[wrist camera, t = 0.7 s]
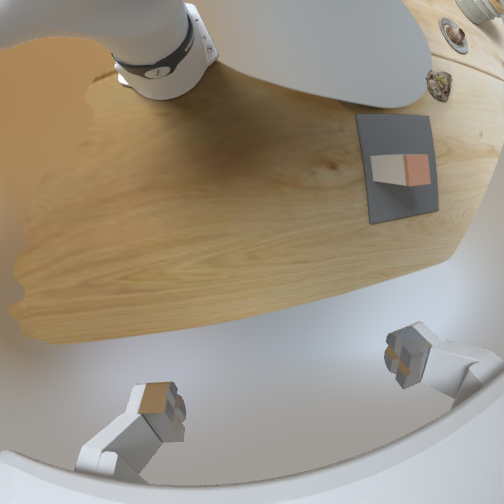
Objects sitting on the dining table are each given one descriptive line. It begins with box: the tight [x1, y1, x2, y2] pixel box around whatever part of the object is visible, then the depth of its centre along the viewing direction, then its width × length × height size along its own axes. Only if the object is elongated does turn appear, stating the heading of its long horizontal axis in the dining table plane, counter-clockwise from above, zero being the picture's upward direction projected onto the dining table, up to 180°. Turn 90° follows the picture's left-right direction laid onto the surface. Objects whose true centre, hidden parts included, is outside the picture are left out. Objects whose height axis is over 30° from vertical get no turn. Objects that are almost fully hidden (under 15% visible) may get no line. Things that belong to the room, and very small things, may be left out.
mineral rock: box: [426, 70, 452, 101], centre depth 42 cm, size 11×4×8 cm
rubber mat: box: [355, 114, 438, 224], centre depth 48 cm, size 22×20×1 cm
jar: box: [455, 0, 504, 24], centre depth 25 cm, size 13×13×18 cm
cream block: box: [370, 154, 431, 186], centre depth 42 cm, size 5×5×12 cm
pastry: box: [440, 18, 468, 54], centre depth 36 cm, size 12×12×5 cm
